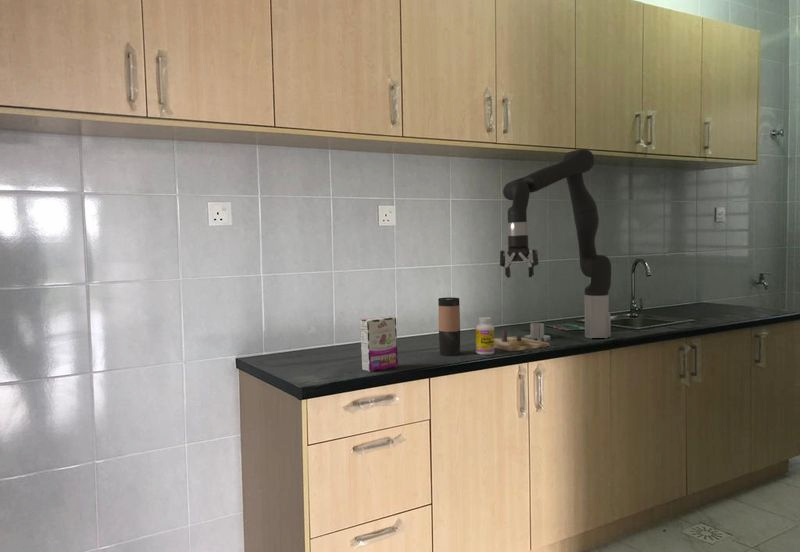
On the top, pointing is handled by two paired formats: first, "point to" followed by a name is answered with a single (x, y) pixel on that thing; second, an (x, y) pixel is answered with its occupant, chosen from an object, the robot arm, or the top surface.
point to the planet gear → (537, 332)
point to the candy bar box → (379, 343)
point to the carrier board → (514, 348)
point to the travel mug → (449, 326)
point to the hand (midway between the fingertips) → (519, 277)
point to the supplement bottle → (484, 336)
